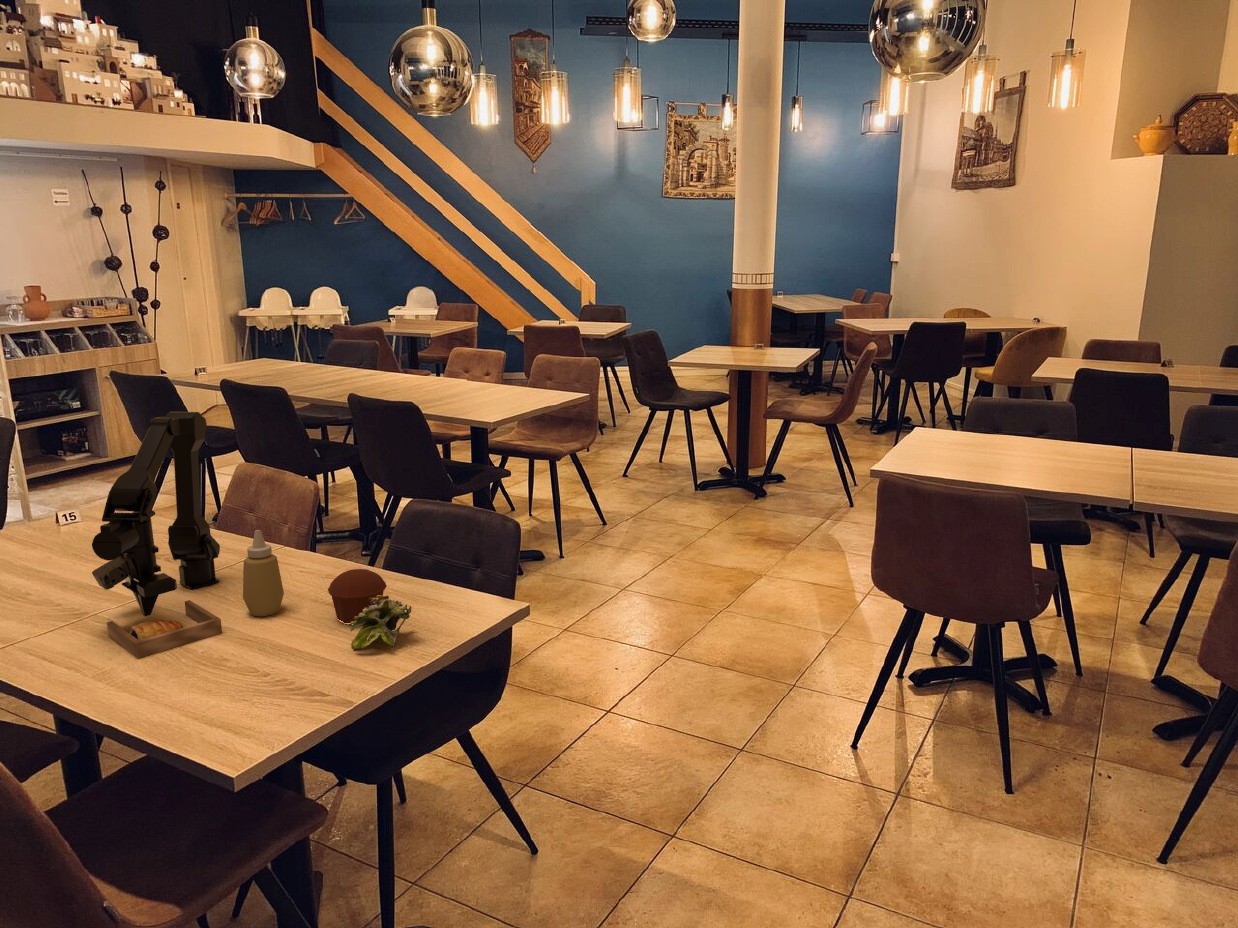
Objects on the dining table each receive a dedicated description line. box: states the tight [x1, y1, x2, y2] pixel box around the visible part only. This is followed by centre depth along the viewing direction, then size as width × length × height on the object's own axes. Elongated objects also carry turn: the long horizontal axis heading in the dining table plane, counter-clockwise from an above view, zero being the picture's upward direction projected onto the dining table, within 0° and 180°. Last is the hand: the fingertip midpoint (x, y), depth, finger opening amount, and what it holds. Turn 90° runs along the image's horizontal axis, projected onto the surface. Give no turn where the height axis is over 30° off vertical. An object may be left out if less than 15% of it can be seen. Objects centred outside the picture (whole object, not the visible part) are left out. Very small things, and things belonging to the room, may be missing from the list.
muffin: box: [327, 568, 387, 623], centre depth 186 cm, size 12×11×10 cm
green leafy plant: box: [349, 594, 412, 650], centre depth 174 cm, size 11×11×12 cm
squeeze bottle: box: [242, 529, 285, 617], centre depth 188 cm, size 8×8×18 cm
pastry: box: [129, 619, 185, 641], centre depth 177 cm, size 9×7×4 cm
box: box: [106, 599, 223, 659], centre depth 178 cm, size 16×14×3 cm
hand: (147, 615), depth 184 cm, fingers closed
